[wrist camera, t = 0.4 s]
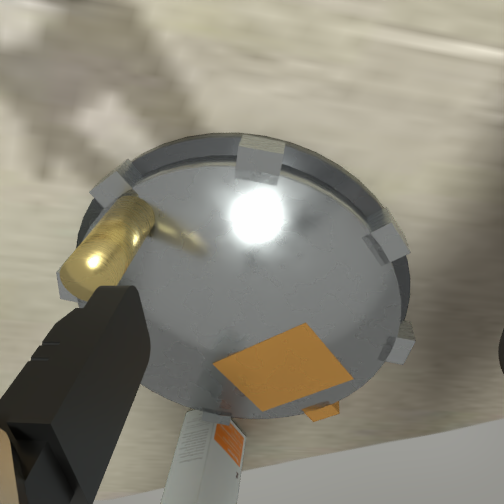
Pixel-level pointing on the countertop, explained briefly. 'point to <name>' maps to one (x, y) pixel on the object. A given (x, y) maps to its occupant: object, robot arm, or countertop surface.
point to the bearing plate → (292, 157)
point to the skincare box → (205, 463)
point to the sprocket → (247, 282)
